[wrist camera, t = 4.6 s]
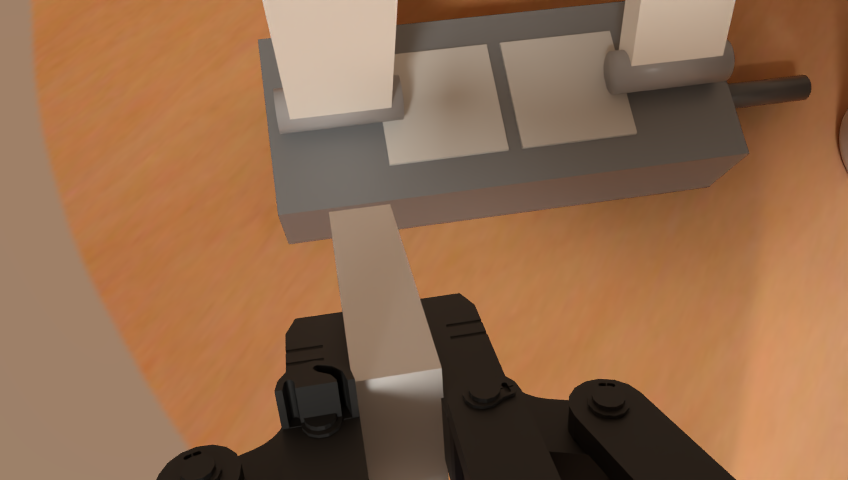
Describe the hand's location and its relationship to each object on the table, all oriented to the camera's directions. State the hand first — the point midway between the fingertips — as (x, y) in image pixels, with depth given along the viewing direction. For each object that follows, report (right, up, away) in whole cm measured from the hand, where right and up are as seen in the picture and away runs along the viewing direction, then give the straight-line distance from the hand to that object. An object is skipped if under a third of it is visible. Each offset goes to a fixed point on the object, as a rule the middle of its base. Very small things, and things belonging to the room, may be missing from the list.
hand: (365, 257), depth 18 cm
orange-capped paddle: (-2, +6, +11) cm, 13 cm away
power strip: (+7, +6, +17) cm, 20 cm away
